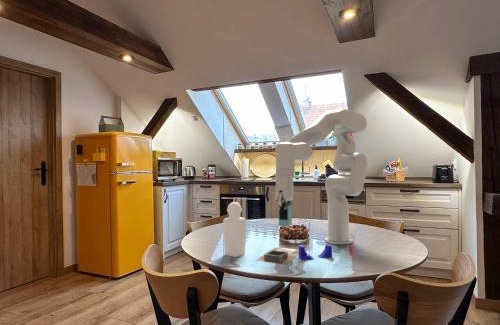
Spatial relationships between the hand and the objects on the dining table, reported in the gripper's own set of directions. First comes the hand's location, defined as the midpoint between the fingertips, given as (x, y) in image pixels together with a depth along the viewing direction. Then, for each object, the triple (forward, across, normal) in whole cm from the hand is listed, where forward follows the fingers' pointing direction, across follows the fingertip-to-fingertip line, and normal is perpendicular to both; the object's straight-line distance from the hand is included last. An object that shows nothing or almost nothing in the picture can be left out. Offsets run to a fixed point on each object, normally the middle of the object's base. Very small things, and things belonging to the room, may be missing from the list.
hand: (285, 218), depth 129 cm
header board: (+15, +6, 0) cm, 16 cm away
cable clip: (+15, +3, +13) cm, 21 cm away
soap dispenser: (+15, +12, -17) cm, 26 cm away
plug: (+3, 0, 0) cm, 3 cm away
